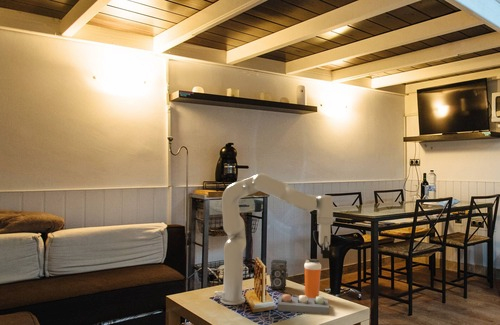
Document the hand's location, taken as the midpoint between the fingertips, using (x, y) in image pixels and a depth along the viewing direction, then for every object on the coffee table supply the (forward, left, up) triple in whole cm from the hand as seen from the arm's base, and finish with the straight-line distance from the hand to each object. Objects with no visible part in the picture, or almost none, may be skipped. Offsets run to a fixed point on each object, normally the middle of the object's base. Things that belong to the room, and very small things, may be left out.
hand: (324, 256), depth 199 cm
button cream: (-10, -2, -23) cm, 25 cm away
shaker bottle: (-5, +14, -26) cm, 30 cm away
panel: (-10, -2, -25) cm, 27 cm away
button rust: (-18, -2, -23) cm, 29 cm away
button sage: (-2, -2, -23) cm, 23 cm away
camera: (-23, +26, -26) cm, 43 cm away
